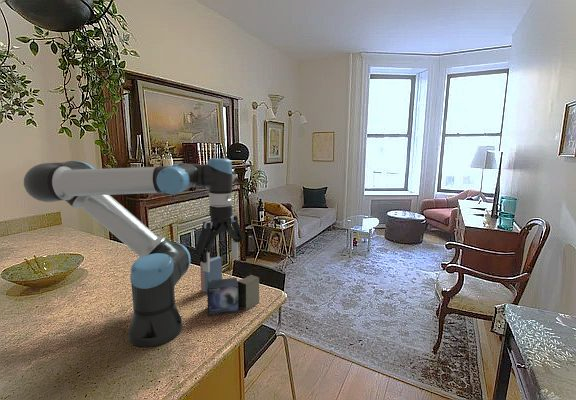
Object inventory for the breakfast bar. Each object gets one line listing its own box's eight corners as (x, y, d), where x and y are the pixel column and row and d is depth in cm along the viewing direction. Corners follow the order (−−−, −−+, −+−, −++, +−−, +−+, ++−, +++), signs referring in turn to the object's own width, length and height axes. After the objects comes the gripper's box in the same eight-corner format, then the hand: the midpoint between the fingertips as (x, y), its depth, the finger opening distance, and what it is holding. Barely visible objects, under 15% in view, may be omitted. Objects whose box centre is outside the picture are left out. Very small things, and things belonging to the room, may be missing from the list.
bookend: (246, 310, 104) (245, 284, 103) (238, 307, 107) (237, 281, 105) (259, 302, 110) (259, 277, 108) (251, 299, 112) (251, 274, 111)
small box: (207, 317, 100) (206, 288, 98) (207, 307, 106) (206, 279, 105) (238, 312, 103) (238, 284, 101) (237, 303, 109) (236, 277, 107)
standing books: (208, 294, 116) (207, 262, 114) (201, 290, 118) (200, 260, 116) (222, 287, 121) (221, 257, 119) (214, 284, 124) (213, 255, 122)
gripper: (198, 212, 87) (200, 280, 90) (253, 201, 107) (252, 256, 111) (182, 209, 91) (184, 273, 94) (238, 198, 111) (238, 252, 115)
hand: (221, 264), depth 103 cm, fingers open, 13 cm apart
